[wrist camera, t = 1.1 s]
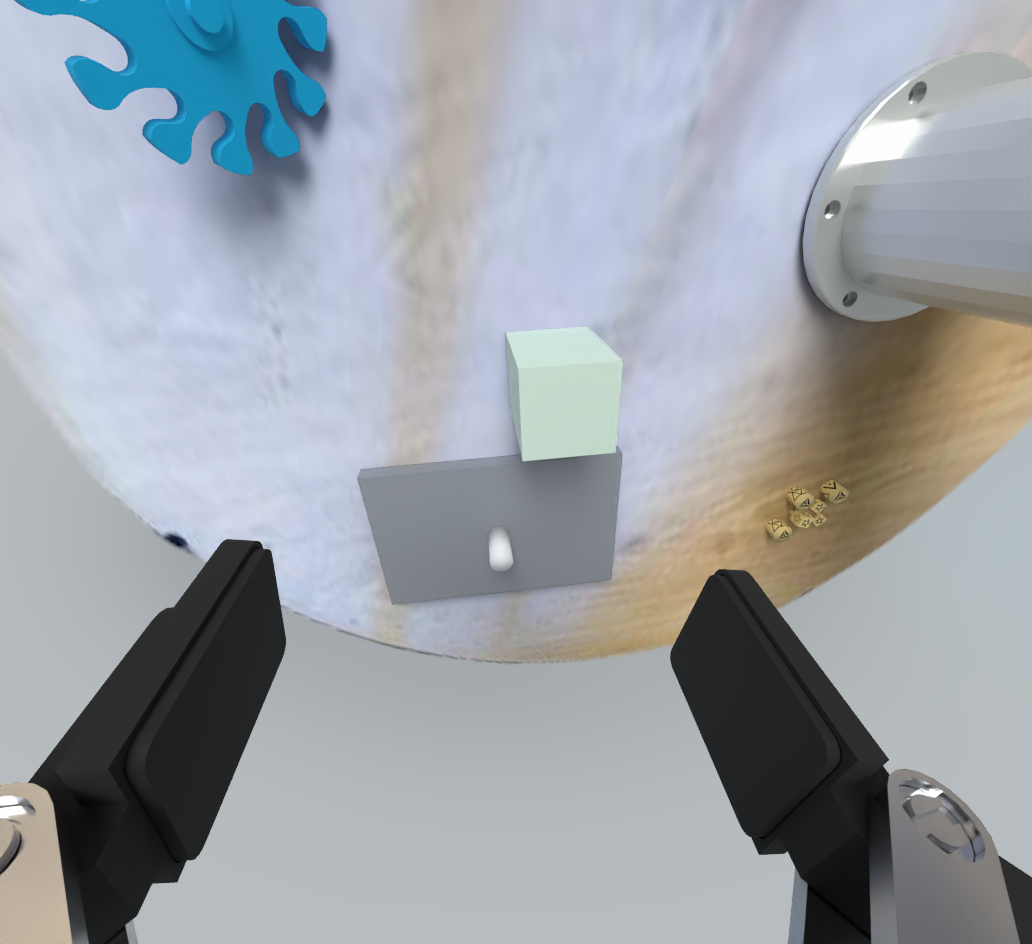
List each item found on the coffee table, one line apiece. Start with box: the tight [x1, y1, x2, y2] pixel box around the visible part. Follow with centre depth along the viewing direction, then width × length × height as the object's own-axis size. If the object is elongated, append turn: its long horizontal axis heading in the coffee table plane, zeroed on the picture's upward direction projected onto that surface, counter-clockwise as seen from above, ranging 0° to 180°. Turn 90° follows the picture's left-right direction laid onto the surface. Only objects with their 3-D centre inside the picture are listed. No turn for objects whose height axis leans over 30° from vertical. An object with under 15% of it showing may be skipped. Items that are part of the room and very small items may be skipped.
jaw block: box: [506, 326, 623, 461], centre depth 25 cm, size 5×5×7 cm
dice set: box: [766, 480, 850, 542], centre depth 36 cm, size 5×5×2 cm
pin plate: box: [357, 446, 622, 605], centre depth 32 cm, size 18×12×4 cm, turn 93°
